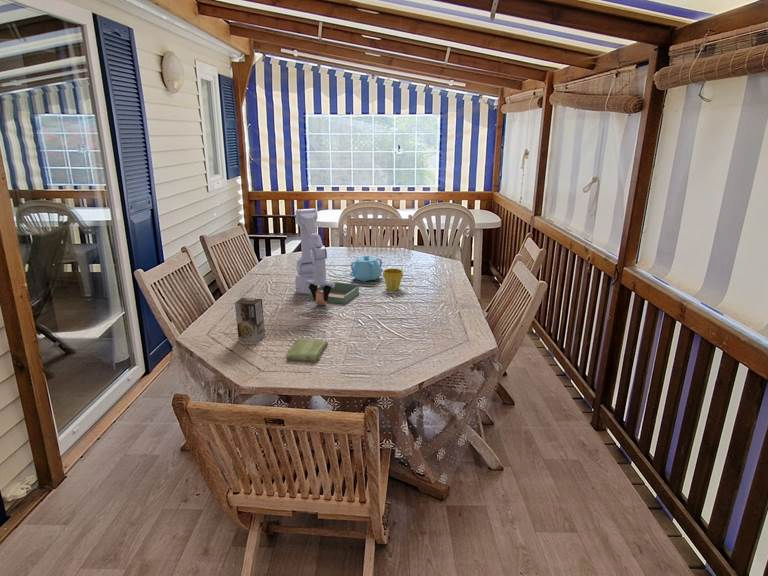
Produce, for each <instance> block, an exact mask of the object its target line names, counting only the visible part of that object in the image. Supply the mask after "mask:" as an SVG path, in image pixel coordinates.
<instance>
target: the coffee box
mask: <svg viewBox="0 0 768 576" xmlns="http://www.w3.org/2000/svg"><path fill="white" fill-rule="evenodd" d="M234 308H235V310H234V311H235V317H236V326H237V328H236V329H237V335H238V336H237V338H238V341H245V342H260V341H261V340H263V339H264V338H265V337H266V331H265V321H264V319H265V318H264V308H263V299H262V298H251V297H241V298H240V299H238V300H237V301H235V302H234Z"/></svg>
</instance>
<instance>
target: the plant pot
mask: <svg viewBox="0 0 768 576" xmlns="http://www.w3.org/2000/svg"><path fill="white" fill-rule="evenodd" d="M403 274H404V271H403V269H399V268H387V269H384V270H383V271H382V277H383V278H384V283H385V288H386V290H389V291H398V290H400V285H401V282H402V281H401V280H402V279H403V278H404V277H403Z"/></svg>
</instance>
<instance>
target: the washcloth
mask: <svg viewBox="0 0 768 576" xmlns="http://www.w3.org/2000/svg"><path fill="white" fill-rule="evenodd" d="M327 344H328V340H324V339H316V338H303V337H299V338H297V339H296V340H294V343H293V344H292V345H291V347H290V348H289V349H288V351H287V353H286V355H285V358H286V360H287V361H295V362H301V361H303V362H311V363H315V362H318V361H320V359H321V356H322V355H323V351H324V350H325V348H326V347H327Z"/></svg>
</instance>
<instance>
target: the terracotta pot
mask: <svg viewBox="0 0 768 576" xmlns="http://www.w3.org/2000/svg"><path fill="white" fill-rule="evenodd" d="M315 301H316V304H317V305H325V304H327V303H328V302H327V301H324V292H323V290H317V291H316V300H315Z"/></svg>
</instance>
